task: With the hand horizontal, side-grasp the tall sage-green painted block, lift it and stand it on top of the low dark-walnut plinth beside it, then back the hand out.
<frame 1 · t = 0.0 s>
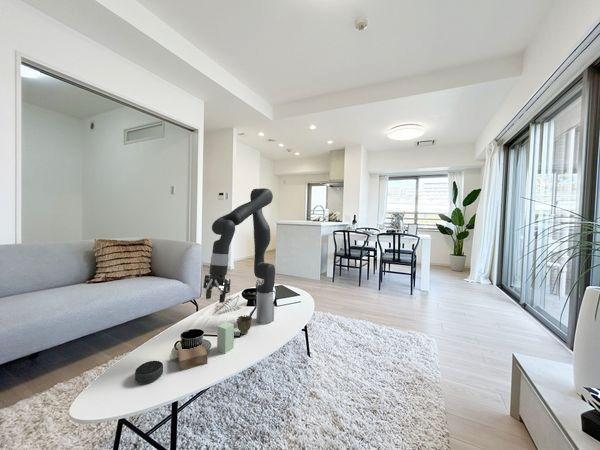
hand: (214, 300, 107), 22 cm above the table, tool pointing down, fingers open, 8 cm apart
smart speaker: (149, 377, 90), on the table
green block: (225, 349, 109), on the table
walnut plinth: (192, 360, 100), on the table
cup: (244, 333, 124), on the table
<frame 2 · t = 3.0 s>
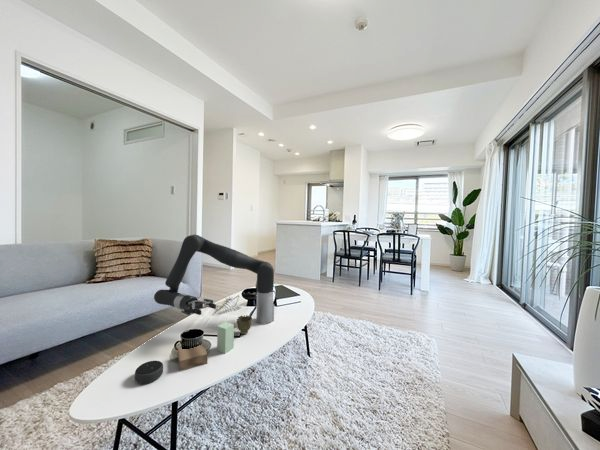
hand: (208, 309, 114), 16 cm above the table, tool horizontal, fingers open, 8 cm apart
nothing on the table moved.
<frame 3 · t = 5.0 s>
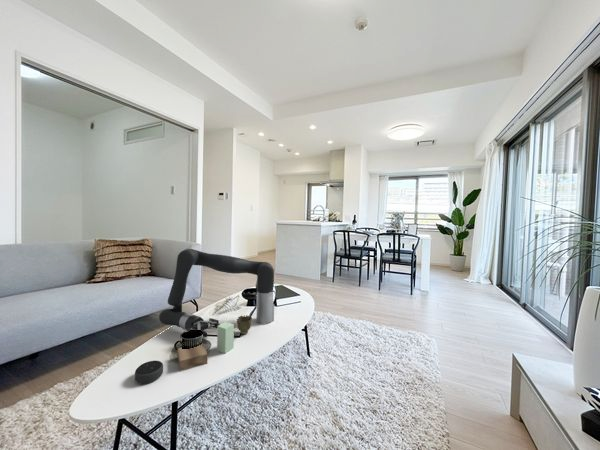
hand: (214, 330, 112), 6 cm above the table, tool horizontal, fingers open, 8 cm apart
nothing on the table moved.
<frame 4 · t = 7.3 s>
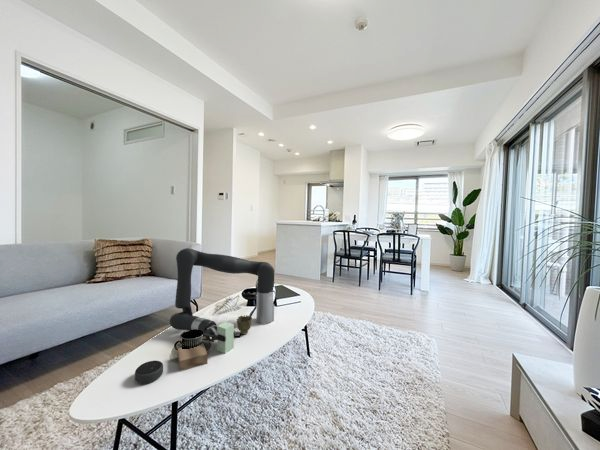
hand: (229, 336, 108), 7 cm above the table, tool horizontal, fingers closed on green block, 5 cm apart
green block: (225, 349, 109), on the table, touching gripper
everything else where it was.
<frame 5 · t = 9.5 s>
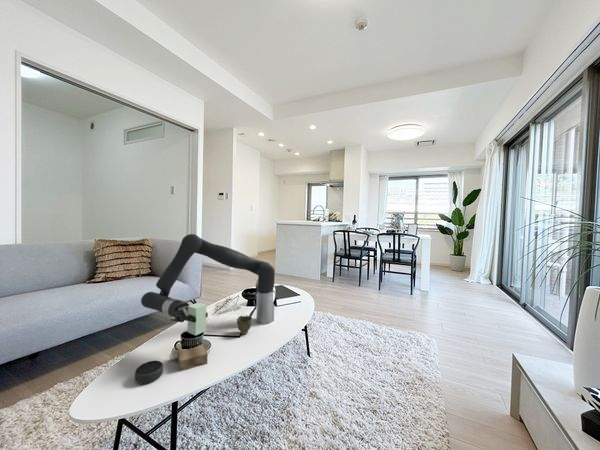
hand: (201, 317, 99), 18 cm above the table, tool horizontal, fingers closed on green block, 5 cm apart
green block: (196, 331, 101), point 12 cm above the table, touching gripper
everything else where it was.
when the fingers open (11 cm above the table, at t = 11.7 s): green block stays where it is, resting on walnut plinth.
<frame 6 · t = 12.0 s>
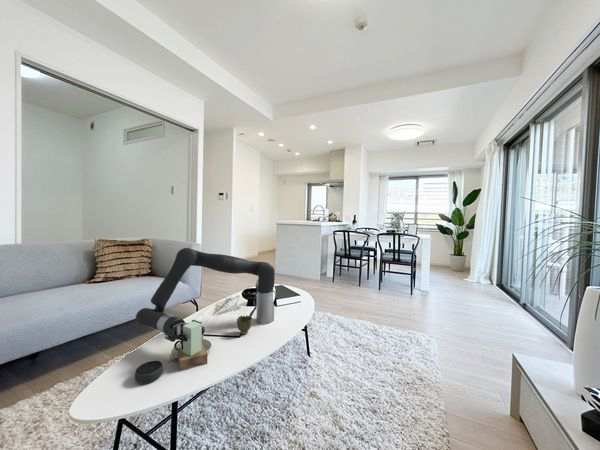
hand: (195, 334, 99), 11 cm above the table, tool horizontal, fingers open, 7 cm apart
green block: (192, 351, 100), point 4 cm above the table, touching walnut plinth
everything else where it was.
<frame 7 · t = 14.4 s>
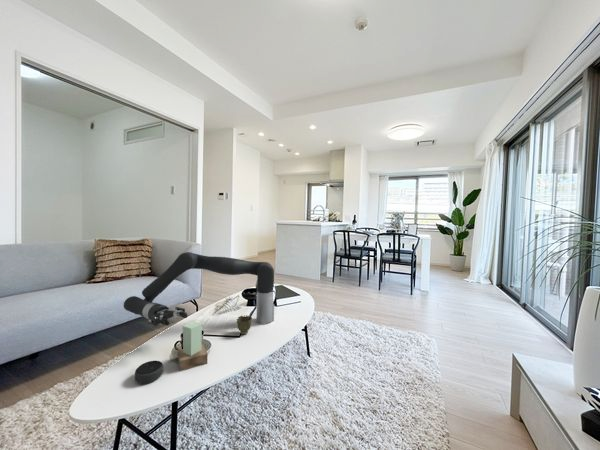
hand: (177, 319, 106), 14 cm above the table, tool horizontal, fingers open, 8 cm apart
nothing on the table moved.
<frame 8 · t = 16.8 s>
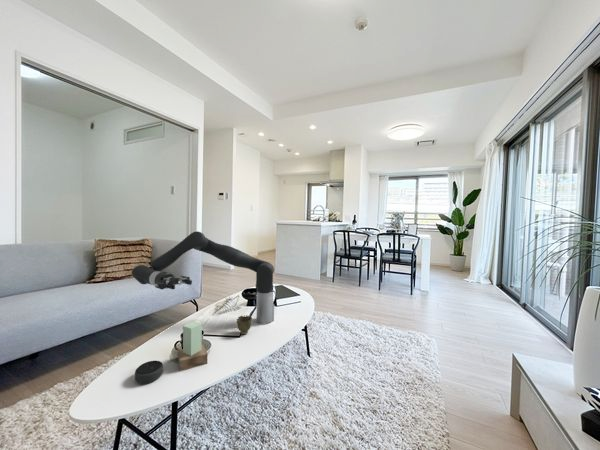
hand: (183, 284, 111), 28 cm above the table, tool horizontal, fingers open, 8 cm apart
nothing on the table moved.
at the end: green block inside the target area on the walnut plinth (0.1 cm from its centre), point 4.0 cm above the walnut plinth's base; green block tilted 0°; the gripper is holding nothing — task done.
